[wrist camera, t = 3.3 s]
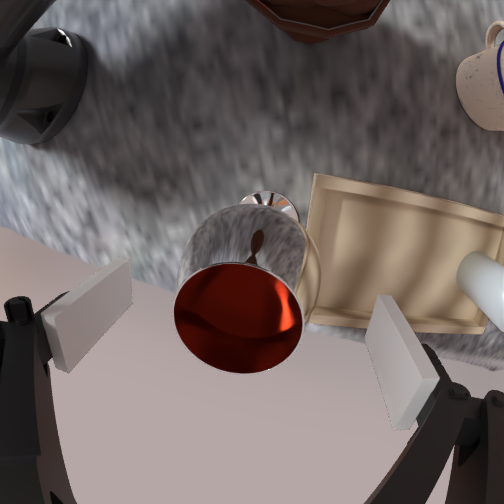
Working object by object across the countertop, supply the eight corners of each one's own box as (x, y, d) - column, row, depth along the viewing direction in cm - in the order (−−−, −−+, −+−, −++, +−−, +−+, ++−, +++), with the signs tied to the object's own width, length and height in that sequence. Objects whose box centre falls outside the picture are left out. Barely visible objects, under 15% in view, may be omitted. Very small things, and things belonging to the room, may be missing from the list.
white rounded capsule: (450, 290, 28) (490, 332, 20) (463, 247, 27) (510, 281, 18) (480, 293, 28) (521, 332, 20) (493, 253, 26) (540, 285, 18)
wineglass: (306, 263, 30) (323, 394, 14) (225, 262, 31) (163, 384, 14) (308, 181, 28) (342, 231, 11) (221, 182, 29) (133, 231, 12)
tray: (292, 306, 32) (293, 320, 29) (314, 172, 28) (317, 175, 25) (472, 322, 31) (482, 334, 28) (505, 216, 26) (520, 222, 23)
